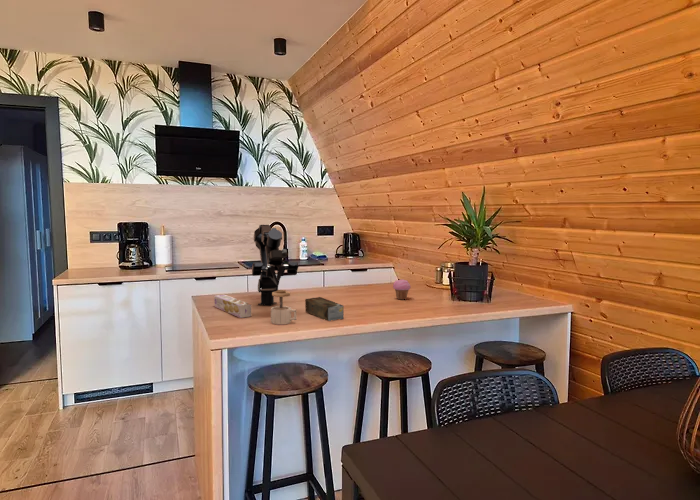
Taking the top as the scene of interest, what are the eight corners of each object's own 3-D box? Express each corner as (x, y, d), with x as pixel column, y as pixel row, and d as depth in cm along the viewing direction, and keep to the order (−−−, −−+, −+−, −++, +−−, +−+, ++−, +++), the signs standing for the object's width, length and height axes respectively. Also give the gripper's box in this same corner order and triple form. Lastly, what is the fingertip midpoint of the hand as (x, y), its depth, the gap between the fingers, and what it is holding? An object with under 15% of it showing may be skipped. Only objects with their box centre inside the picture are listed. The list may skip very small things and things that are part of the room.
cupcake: (411, 300, 225) (411, 280, 224) (393, 300, 225) (394, 280, 224) (408, 297, 234) (409, 278, 233) (392, 297, 234) (392, 277, 233)
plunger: (277, 305, 183) (277, 288, 182) (293, 306, 181) (293, 289, 180) (268, 308, 176) (268, 291, 176) (285, 310, 174) (285, 292, 173)
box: (213, 307, 205) (213, 294, 204) (225, 305, 208) (225, 293, 208) (239, 319, 184) (239, 305, 183) (252, 317, 187) (251, 304, 186)
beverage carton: (327, 322, 182) (327, 305, 181) (304, 312, 197) (304, 297, 197) (344, 319, 186) (344, 303, 185) (320, 310, 202) (320, 295, 201)
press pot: (268, 324, 176) (268, 309, 175) (274, 319, 183) (274, 305, 183) (293, 325, 174) (293, 311, 174) (298, 320, 182) (298, 306, 181)
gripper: (252, 242, 185) (256, 273, 175) (297, 242, 191) (303, 271, 182) (250, 260, 193) (253, 290, 184) (293, 259, 199) (299, 288, 190)
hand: (277, 284), depth 184 cm, fingers closed
